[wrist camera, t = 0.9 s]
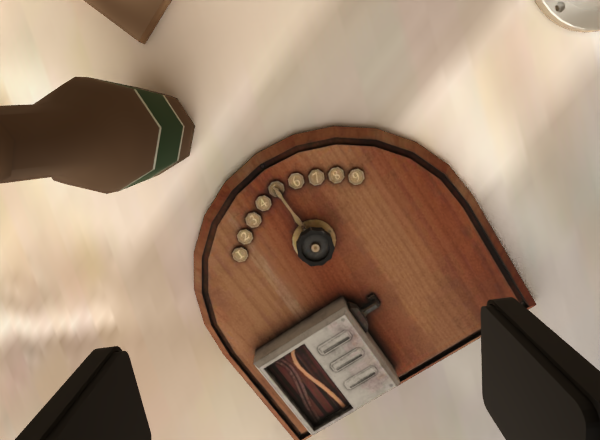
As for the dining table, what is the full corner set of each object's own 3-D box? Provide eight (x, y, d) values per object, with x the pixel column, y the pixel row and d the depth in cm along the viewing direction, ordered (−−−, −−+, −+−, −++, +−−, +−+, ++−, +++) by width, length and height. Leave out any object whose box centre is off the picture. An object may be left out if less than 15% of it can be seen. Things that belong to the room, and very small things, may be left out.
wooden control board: (298, 473, 43) (113, 255, 36) (297, 436, 48) (134, 238, 41) (560, 323, 39) (405, 50, 33) (530, 300, 44) (389, 59, 38)
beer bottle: (188, 83, 37) (13, 21, 14) (205, 165, 39) (75, 233, 16) (106, 96, 37) (-202, 55, 14) (127, 177, 39) (-114, 261, 16)
